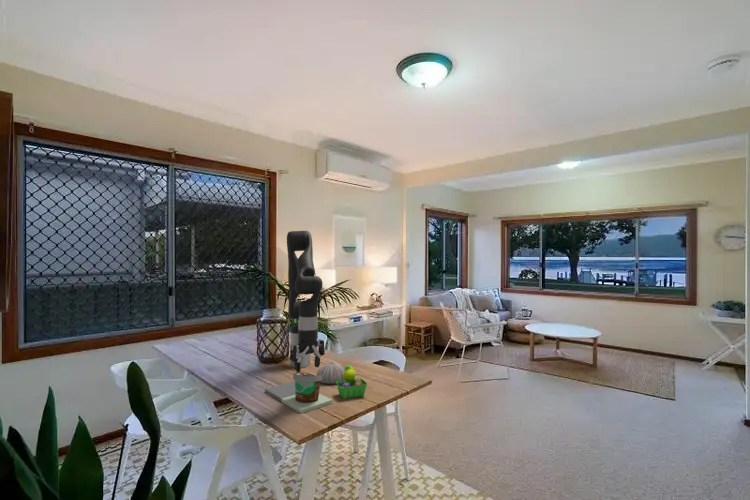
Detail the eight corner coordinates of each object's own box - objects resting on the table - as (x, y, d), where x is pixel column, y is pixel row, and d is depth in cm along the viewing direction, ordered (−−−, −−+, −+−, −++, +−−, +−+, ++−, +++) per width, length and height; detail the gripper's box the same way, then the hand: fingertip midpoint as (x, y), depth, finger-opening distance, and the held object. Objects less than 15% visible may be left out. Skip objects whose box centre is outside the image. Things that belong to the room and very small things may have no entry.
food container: (285, 400, 139) (286, 373, 140) (295, 395, 145) (296, 369, 145) (311, 406, 134) (312, 378, 134) (321, 401, 139) (322, 374, 140)
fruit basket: (341, 400, 143) (341, 371, 143) (334, 392, 151) (334, 365, 151) (367, 396, 148) (368, 368, 148) (360, 389, 156) (360, 362, 156)
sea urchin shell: (346, 385, 160) (346, 367, 160) (315, 386, 159) (315, 367, 159) (346, 375, 173) (346, 358, 173) (317, 376, 172) (318, 359, 172)
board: (294, 383, 161) (294, 381, 161) (332, 403, 140) (332, 399, 141) (264, 391, 151) (264, 388, 151) (300, 413, 131) (300, 410, 131)
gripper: (317, 323, 149) (317, 363, 149) (286, 328, 139) (286, 370, 139) (328, 326, 143) (328, 367, 143) (297, 331, 134) (296, 375, 134)
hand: (307, 369), depth 141 cm, fingers open, 8 cm apart
